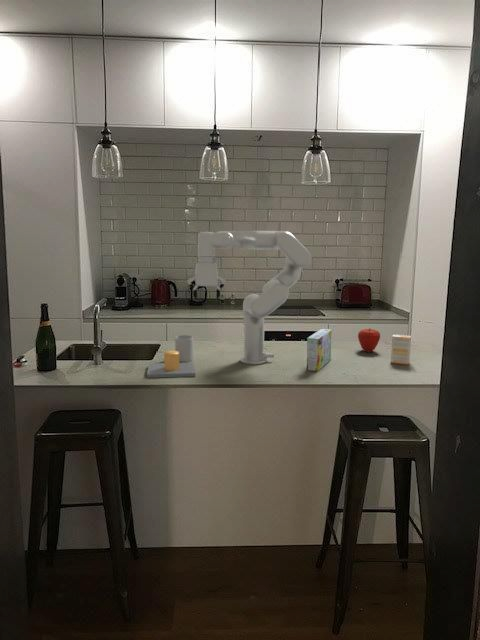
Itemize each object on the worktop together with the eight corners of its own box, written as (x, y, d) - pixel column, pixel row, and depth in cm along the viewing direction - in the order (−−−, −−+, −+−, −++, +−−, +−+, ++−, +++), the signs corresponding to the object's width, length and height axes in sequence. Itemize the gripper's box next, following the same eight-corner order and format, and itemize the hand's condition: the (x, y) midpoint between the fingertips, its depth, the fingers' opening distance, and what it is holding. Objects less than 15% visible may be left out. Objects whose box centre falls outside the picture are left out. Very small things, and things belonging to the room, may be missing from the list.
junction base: (194, 365, 226) (193, 351, 225) (195, 376, 210) (195, 361, 209) (149, 366, 224) (148, 352, 222) (147, 377, 208) (146, 362, 207)
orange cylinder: (179, 365, 220) (179, 350, 219) (179, 370, 214) (179, 354, 213) (164, 366, 219) (164, 350, 218) (164, 370, 213) (163, 354, 212)
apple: (358, 347, 261) (360, 325, 259) (380, 349, 257) (381, 326, 255) (355, 352, 251) (357, 329, 249) (377, 354, 247) (379, 331, 245)
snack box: (319, 358, 239) (321, 328, 237) (331, 360, 237) (332, 329, 234) (305, 370, 221) (306, 337, 218) (317, 372, 218) (319, 338, 215)
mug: (192, 362, 231) (192, 339, 229) (174, 362, 231) (174, 339, 229) (194, 355, 243) (194, 333, 241) (177, 355, 243) (176, 333, 241)
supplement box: (409, 362, 234) (411, 335, 232) (408, 365, 230) (410, 337, 227) (391, 360, 237) (393, 333, 235) (390, 363, 233) (391, 335, 231)
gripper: (225, 259, 224) (225, 297, 227) (186, 259, 222) (187, 297, 225) (227, 261, 217) (226, 299, 220) (187, 261, 215) (187, 300, 218)
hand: (206, 298), depth 223 cm, fingers open, 9 cm apart
